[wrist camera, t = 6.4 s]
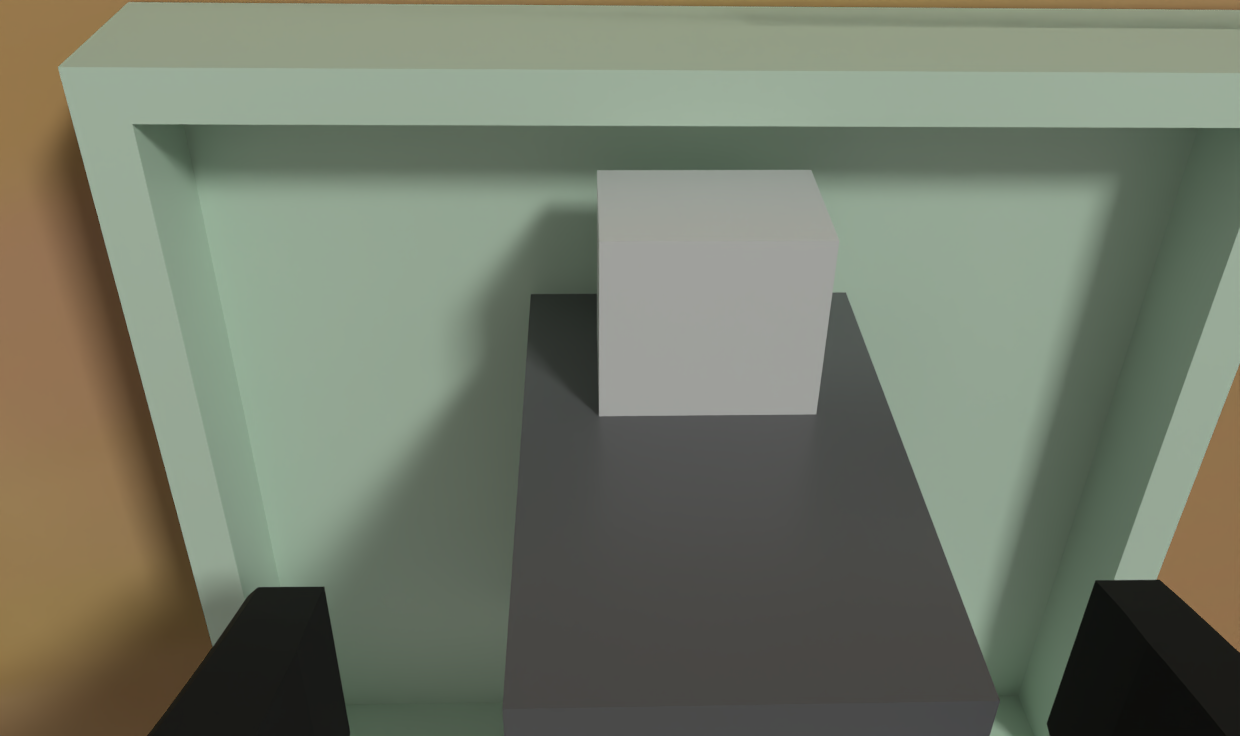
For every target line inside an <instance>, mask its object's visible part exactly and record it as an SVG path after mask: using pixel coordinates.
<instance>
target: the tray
mask: <svg viewBox="0 0 1240 736" xmlns="http://www.w3.org/2000/svg"><path fill="white" fill-rule="evenodd" d="M58 69H59V73H60V77H61V80H62V84H63V88H64V92H65V95H66V99H67V103H68V107H69V110H70V114H71V118H72V122H73V125H74V129H75V133H76V137H77V140H78V144H79V148H80V152H81V155H82V159H83V163H84V167H85V170H86V174H87V178H88V182H89V185H90V189H91V193H92V197H93V200H94V204H95V208H96V212H97V215H98V219H99V223H100V227H101V230H102V234H103V238H104V241H105V245H106V249H107V253H108V256H109V260H110V264H111V268H112V271H113V275H114V279H115V283H116V286H117V290H118V294H119V298H120V301H121V305H122V309H123V313H124V316H125V320H126V324H127V328H128V331H129V335H130V339H131V343H132V346H133V350H134V354H135V358H136V361H137V365H138V369H139V373H140V376H141V380H142V384H143V388H144V391H145V395H146V399H147V403H148V406H149V410H150V414H151V418H152V421H153V425H154V429H155V433H156V436H157V440H158V444H159V448H160V451H161V455H162V459H163V463H164V466H165V470H166V474H167V478H168V481H169V485H170V489H171V493H172V496H173V500H174V504H175V508H176V511H177V515H178V519H179V523H180V526H181V530H182V534H183V538H184V541H185V545H186V549H187V553H188V556H189V560H190V564H191V568H192V571H193V575H194V579H195V583H196V586H197V590H198V594H199V598H200V601H201V605H202V609H203V612H204V616H205V620H206V624H207V627H208V631H209V635H210V639H211V642H212V646H214V644H215V643H216V642H217V640H218V639H219V637H220V636H221V634H222V633H223V631H224V630H225V629H226V627H227V626H228V624H229V623H230V621H231V620H232V618H233V617H234V615H235V614H236V613H237V611H238V610H239V608H240V607H241V605H242V604H243V602H244V601H245V599H246V598H247V596H248V595H250V594H251V593H252V592H253V591H254V590H255V589H256V588H258V587H325V593H326V599H327V604H328V610H329V616H330V621H331V627H332V632H333V638H334V644H335V649H336V655H337V661H338V666H339V672H340V677H341V683H342V689H343V694H344V700H345V706H346V711H347V717H348V722H349V728H350V736H504V725H503V711H502V707H503V693H504V678H505V663H506V649H507V634H508V619H509V605H510V590H511V576H512V561H513V546H514V532H515V517H516V502H517V488H518V473H519V459H520V444H521V429H522V415H523V400H524V385H525V371H526V356H527V341H528V327H529V312H530V298H531V294H597V170H812V173H813V175H814V178H815V180H816V183H817V185H818V188H819V190H820V193H821V195H822V198H823V201H824V203H825V206H826V208H827V211H828V213H829V216H830V218H831V221H832V223H833V226H834V228H835V231H836V233H837V236H838V238H839V248H838V255H837V263H836V270H835V278H834V285H833V293H837V292H846V294H847V297H848V299H849V302H850V305H851V307H852V310H853V313H854V315H855V318H856V321H857V323H858V326H859V329H860V331H861V334H862V336H863V339H864V342H865V344H866V347H867V350H868V352H869V355H870V358H871V360H872V363H873V366H874V368H875V371H876V374H877V376H878V379H879V381H880V384H881V387H882V389H883V392H884V395H885V397H886V400H887V403H888V405H889V408H890V411H891V413H892V416H893V419H894V421H895V424H896V427H897V429H898V432H899V434H900V437H901V440H902V442H903V445H904V448H905V450H906V453H907V456H908V458H909V461H910V464H911V466H912V469H913V472H914V474H915V477H916V479H917V482H918V485H919V487H920V490H921V493H922V495H923V498H924V501H925V503H926V506H927V509H928V511H929V514H930V517H931V519H932V522H933V525H934V527H935V530H936V532H937V535H938V538H939V540H940V543H941V546H942V548H943V551H944V554H945V556H946V559H947V562H948V564H949V567H950V570H951V572H952V575H953V577H954V580H955V583H956V585H957V588H958V591H959V593H960V596H961V599H962V601H963V604H964V607H965V609H966V612H967V615H968V617H969V620H970V623H971V625H972V628H973V630H974V633H975V636H976V638H977V641H978V644H979V646H980V649H981V652H982V654H983V657H984V660H985V662H986V665H987V668H988V670H989V673H990V675H991V678H992V681H993V683H994V686H995V689H996V691H997V694H998V697H999V699H1000V703H999V706H998V709H997V713H996V716H995V719H994V723H993V726H992V730H991V733H990V736H1050V735H1049V731H1048V727H1047V721H1048V718H1049V715H1050V712H1051V709H1052V706H1053V703H1054V700H1055V697H1056V694H1057V692H1058V689H1059V686H1060V683H1061V680H1062V677H1063V674H1064V671H1065V668H1066V665H1067V662H1068V659H1069V656H1070V653H1071V650H1072V648H1073V645H1074V642H1075V639H1076V636H1077V633H1078V630H1079V627H1080V624H1081V621H1082V618H1083V615H1084V612H1085V609H1086V606H1087V604H1088V601H1089V598H1090V595H1091V592H1092V589H1093V586H1094V583H1095V580H1156V579H1157V576H1158V574H1159V571H1160V569H1161V566H1162V563H1163V561H1164V558H1165V556H1166V553H1167V550H1168V548H1169V545H1170V543H1171V540H1172V538H1173V535H1174V532H1175V530H1176V527H1177V525H1178V522H1179V519H1180V517H1181V514H1182V512H1183V509H1184V506H1185V504H1186V501H1187V499H1188V496H1189V493H1190V491H1191V488H1192V486H1193V483H1194V481H1195V478H1196V475H1197V473H1198V470H1199V468H1200V465H1201V462H1202V460H1203V457H1204V455H1205V452H1206V449H1207V447H1208V444H1209V442H1210V439H1211V436H1212V434H1213V431H1214V429H1215V426H1216V423H1217V421H1218V418H1219V416H1220V413H1221V411H1222V408H1223V405H1224V403H1225V400H1226V398H1227V395H1228V392H1229V390H1230V387H1231V385H1232V382H1233V379H1234V377H1235V374H1236V372H1237V369H1238V366H1239V364H1240V10H1169V9H1024V8H880V7H736V6H592V5H448V4H303V3H159V2H128V3H127V4H126V5H125V6H124V7H123V8H121V9H120V10H119V11H118V12H117V13H116V14H115V15H114V16H113V17H112V18H111V19H110V20H108V21H107V22H106V23H105V24H104V25H103V26H102V27H101V28H100V29H99V30H98V31H97V32H95V33H94V34H93V35H92V36H91V37H90V38H89V39H88V40H87V41H86V42H85V43H84V44H82V45H81V46H80V47H79V48H78V49H77V50H76V51H75V52H74V53H73V54H72V55H71V56H69V57H68V58H67V59H66V60H65V61H64V62H63V63H62V64H61V65H60V66H59V67H58Z"/></svg>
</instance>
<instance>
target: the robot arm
mask: <svg viewBox="0 0 1240 736" xmlns="http://www.w3.org/2000/svg"><path fill="white" fill-rule="evenodd" d="M1047 727H1048V731H1049V735H1050V736H1240V653H1239V652H1238V651H1237V650H1236V649H1235V648H1234V647H1233V646H1232V645H1230V644H1229V643H1228V642H1227V641H1226V640H1225V639H1224V638H1223V637H1222V636H1221V635H1220V634H1219V633H1218V632H1217V631H1215V630H1214V629H1213V628H1212V627H1211V626H1210V625H1209V624H1208V623H1207V622H1206V621H1205V620H1204V619H1202V618H1201V617H1200V616H1199V615H1198V614H1197V613H1196V612H1195V611H1194V610H1193V609H1192V608H1191V607H1189V606H1188V605H1187V604H1186V603H1185V602H1184V601H1183V600H1182V599H1181V598H1180V597H1178V596H1177V595H1176V594H1175V593H1174V592H1173V591H1172V590H1170V589H1169V588H1168V587H1167V586H1166V585H1165V584H1164V583H1163V582H1161V581H1160V580H1095V583H1094V586H1093V589H1092V592H1091V595H1090V598H1089V601H1088V604H1087V606H1086V609H1085V612H1084V615H1083V618H1082V621H1081V624H1080V627H1079V630H1078V633H1077V636H1076V639H1075V642H1074V645H1073V648H1072V650H1071V653H1070V656H1069V659H1068V662H1067V665H1066V668H1065V671H1064V674H1063V677H1062V680H1061V683H1060V686H1059V689H1058V692H1057V694H1056V697H1055V700H1054V703H1053V706H1052V709H1051V712H1050V715H1049V718H1048V721H1047ZM147 736H350V728H349V722H348V717H347V711H346V706H345V700H344V694H343V689H342V683H341V677H340V672H339V666H338V661H337V655H336V649H335V644H334V638H333V632H332V627H331V621H330V616H329V610H328V604H327V599H326V593H325V587H258V588H256V589H255V590H254V591H253V592H252V593H251V594H250V595H248V596H247V598H246V599H245V601H244V602H243V604H242V605H241V607H240V608H239V610H238V611H237V613H236V614H235V615H234V617H233V618H232V620H231V621H230V623H229V624H228V626H227V627H226V629H225V630H224V631H223V633H222V634H221V636H220V637H219V639H218V640H217V642H216V643H215V644H214V646H213V647H212V649H211V650H210V652H209V653H208V654H207V656H206V657H205V659H204V660H203V661H202V663H201V664H200V666H199V667H198V668H197V670H196V671H195V673H194V674H193V675H192V677H191V678H190V680H189V681H188V682H187V684H186V685H185V686H184V688H183V689H182V690H181V692H180V693H179V694H178V696H177V697H176V699H175V700H174V701H173V703H172V704H171V705H170V707H169V708H168V709H167V711H166V712H165V713H164V715H163V716H162V717H161V719H160V720H159V721H158V723H157V724H156V725H155V726H154V728H153V729H152V730H151V732H150V733H149V734H148V735H147Z"/></svg>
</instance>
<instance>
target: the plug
mask: <svg viewBox="0 0 1240 736" xmlns="http://www.w3.org/2000/svg"><path fill="white" fill-rule="evenodd" d="M838 248H839V238H838V236H837V233H836V231H835V228H834V226H833V223H832V221H831V218H830V216H829V213H828V211H827V208H826V206H825V203H824V201H823V198H822V195H821V193H820V190H819V188H818V185H817V183H816V180H815V178H814V175H813V173H812V170H597V294H531V298H530V312H529V327H528V341H527V356H526V371H525V385H524V400H523V415H522V429H521V444H520V459H519V473H518V488H517V502H516V517H515V532H514V546H513V561H512V576H511V590H510V605H509V619H508V634H507V649H506V663H505V678H504V693H503V707H502V711H503V725H504V736H990V733H991V730H992V726H993V723H994V719H995V716H996V713H997V709H998V706H999V703H1000V699H999V697H998V694H997V691H996V689H995V686H994V683H993V681H992V678H991V675H990V673H989V670H988V668H987V665H986V662H985V660H984V657H983V654H982V652H981V649H980V646H979V644H978V641H977V638H976V636H975V633H974V630H973V628H972V625H971V623H970V620H969V617H968V615H967V612H966V609H965V607H964V604H963V601H962V599H961V596H960V593H959V591H958V588H957V585H956V583H955V580H954V577H953V575H952V572H951V570H950V567H949V564H948V562H947V559H946V556H945V554H944V551H943V548H942V546H941V543H940V540H939V538H938V535H937V532H936V530H935V527H934V525H933V522H932V519H931V517H930V514H929V511H928V509H927V506H926V503H925V501H924V498H923V495H922V493H921V490H920V487H919V485H918V482H917V479H916V477H915V474H914V472H913V469H912V466H911V464H910V461H909V458H908V456H907V453H906V450H905V448H904V445H903V442H902V440H901V437H900V434H899V432H898V429H897V427H896V424H895V421H894V419H893V416H892V413H891V411H890V408H889V405H888V403H887V400H886V397H885V395H884V392H883V389H882V387H881V384H880V381H879V379H878V376H877V374H876V371H875V368H874V366H873V363H872V360H871V358H870V355H869V352H868V350H867V347H866V344H865V342H864V339H863V336H862V334H861V331H860V329H859V326H858V323H857V321H856V318H855V315H854V313H853V310H852V307H851V305H850V302H849V299H848V297H847V294H846V292H837V293H833V285H834V278H835V270H836V263H837V255H838Z"/></svg>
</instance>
